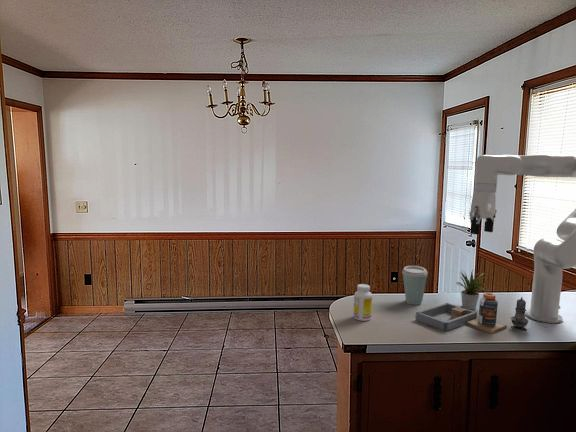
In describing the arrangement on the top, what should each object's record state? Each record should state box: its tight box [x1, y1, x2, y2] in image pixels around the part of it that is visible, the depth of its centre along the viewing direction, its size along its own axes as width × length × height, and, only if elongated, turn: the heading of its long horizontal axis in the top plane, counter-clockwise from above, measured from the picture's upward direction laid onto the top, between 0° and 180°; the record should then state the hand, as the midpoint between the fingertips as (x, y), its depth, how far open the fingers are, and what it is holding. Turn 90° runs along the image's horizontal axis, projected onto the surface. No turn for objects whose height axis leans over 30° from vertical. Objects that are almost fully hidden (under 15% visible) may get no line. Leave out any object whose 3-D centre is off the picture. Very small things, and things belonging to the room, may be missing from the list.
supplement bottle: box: [353, 283, 373, 322], centre depth 162 cm, size 7×7×13 cm
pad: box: [465, 317, 508, 335], centre depth 158 cm, size 10×10×1 cm
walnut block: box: [450, 306, 467, 320], centre depth 165 cm, size 4×4×4 cm
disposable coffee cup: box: [401, 265, 429, 306], centre depth 182 cm, size 11×11×15 cm
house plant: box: [450, 268, 486, 310], centre depth 177 cm, size 14×14×16 cm
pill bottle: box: [477, 292, 499, 326], centre depth 157 cm, size 6×6×11 cm
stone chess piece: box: [510, 296, 530, 332], centre depth 156 cm, size 6×6×12 cm
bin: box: [415, 302, 478, 332], centre depth 163 cm, size 20×13×3 cm, turn 126°
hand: (481, 232), depth 163 cm, fingers open, 9 cm apart
